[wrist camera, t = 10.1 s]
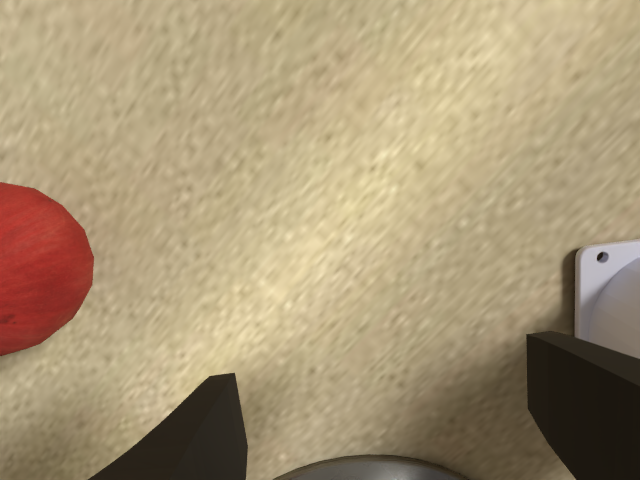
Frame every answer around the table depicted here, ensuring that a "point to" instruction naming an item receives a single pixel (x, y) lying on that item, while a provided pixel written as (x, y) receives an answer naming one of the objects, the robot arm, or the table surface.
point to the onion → (39, 267)
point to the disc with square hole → (372, 469)
